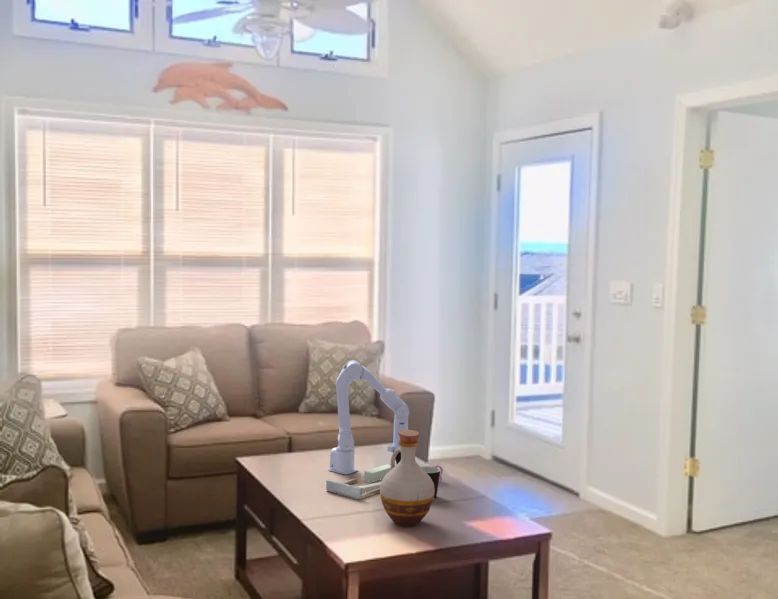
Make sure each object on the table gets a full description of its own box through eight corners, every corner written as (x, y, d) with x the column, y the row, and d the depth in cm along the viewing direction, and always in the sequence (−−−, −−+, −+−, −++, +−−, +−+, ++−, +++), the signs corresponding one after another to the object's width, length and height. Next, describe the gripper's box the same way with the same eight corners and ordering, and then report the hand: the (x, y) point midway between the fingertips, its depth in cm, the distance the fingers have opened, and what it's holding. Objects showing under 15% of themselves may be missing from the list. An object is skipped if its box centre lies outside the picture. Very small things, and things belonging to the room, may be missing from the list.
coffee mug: (444, 497, 292) (445, 469, 291) (429, 502, 286) (429, 474, 285) (420, 489, 300) (420, 463, 299) (404, 494, 294) (405, 467, 293)
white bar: (350, 494, 293) (350, 488, 293) (380, 488, 302) (380, 481, 302) (353, 496, 291) (354, 489, 291) (384, 489, 300) (384, 483, 300)
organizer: (326, 491, 295) (326, 480, 295) (355, 481, 309) (355, 471, 308) (359, 499, 286) (359, 488, 286) (387, 489, 299) (387, 478, 299)
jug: (366, 516, 269) (369, 427, 267) (412, 509, 278) (415, 422, 276) (396, 535, 252) (398, 440, 250) (444, 527, 260) (447, 435, 259)
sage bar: (364, 481, 310) (364, 471, 309) (386, 474, 321) (387, 464, 320) (372, 483, 307) (372, 473, 307) (394, 476, 318) (395, 466, 318)
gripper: (397, 437, 315) (397, 471, 316) (419, 431, 327) (418, 464, 328) (383, 434, 319) (382, 468, 320) (405, 428, 331) (404, 461, 332)
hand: (399, 466), depth 324 cm, fingers closed
